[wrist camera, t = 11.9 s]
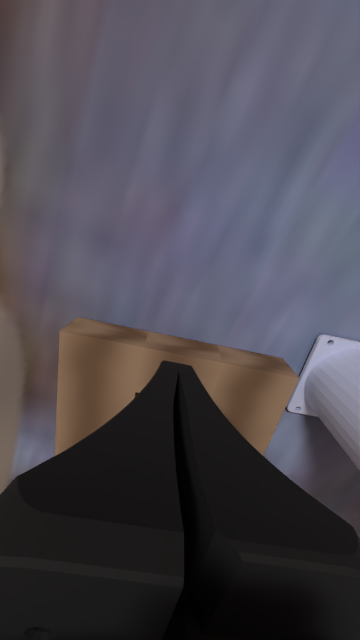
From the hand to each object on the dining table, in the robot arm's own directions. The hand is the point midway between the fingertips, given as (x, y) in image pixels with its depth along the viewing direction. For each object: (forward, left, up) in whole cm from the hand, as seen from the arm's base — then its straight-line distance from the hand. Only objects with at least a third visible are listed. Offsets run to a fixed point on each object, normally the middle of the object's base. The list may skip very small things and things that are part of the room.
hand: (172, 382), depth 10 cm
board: (-1, +9, -9) cm, 13 cm away
